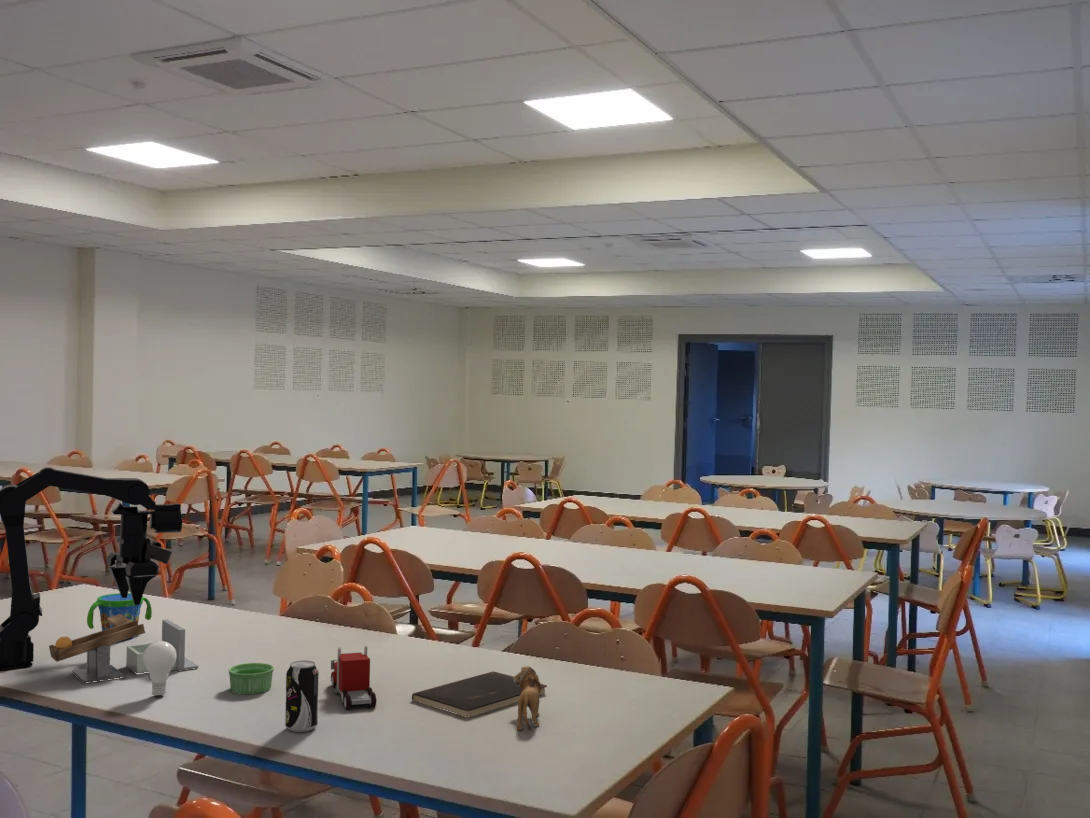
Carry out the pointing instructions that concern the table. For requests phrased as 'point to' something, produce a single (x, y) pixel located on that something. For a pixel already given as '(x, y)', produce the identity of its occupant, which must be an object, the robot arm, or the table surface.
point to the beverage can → (301, 696)
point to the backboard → (177, 643)
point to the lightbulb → (159, 664)
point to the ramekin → (250, 678)
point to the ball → (63, 643)
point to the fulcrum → (98, 666)
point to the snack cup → (117, 609)
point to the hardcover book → (473, 694)
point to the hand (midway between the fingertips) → (130, 601)
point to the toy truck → (353, 679)
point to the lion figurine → (528, 695)
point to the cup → (137, 658)
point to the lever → (100, 638)
